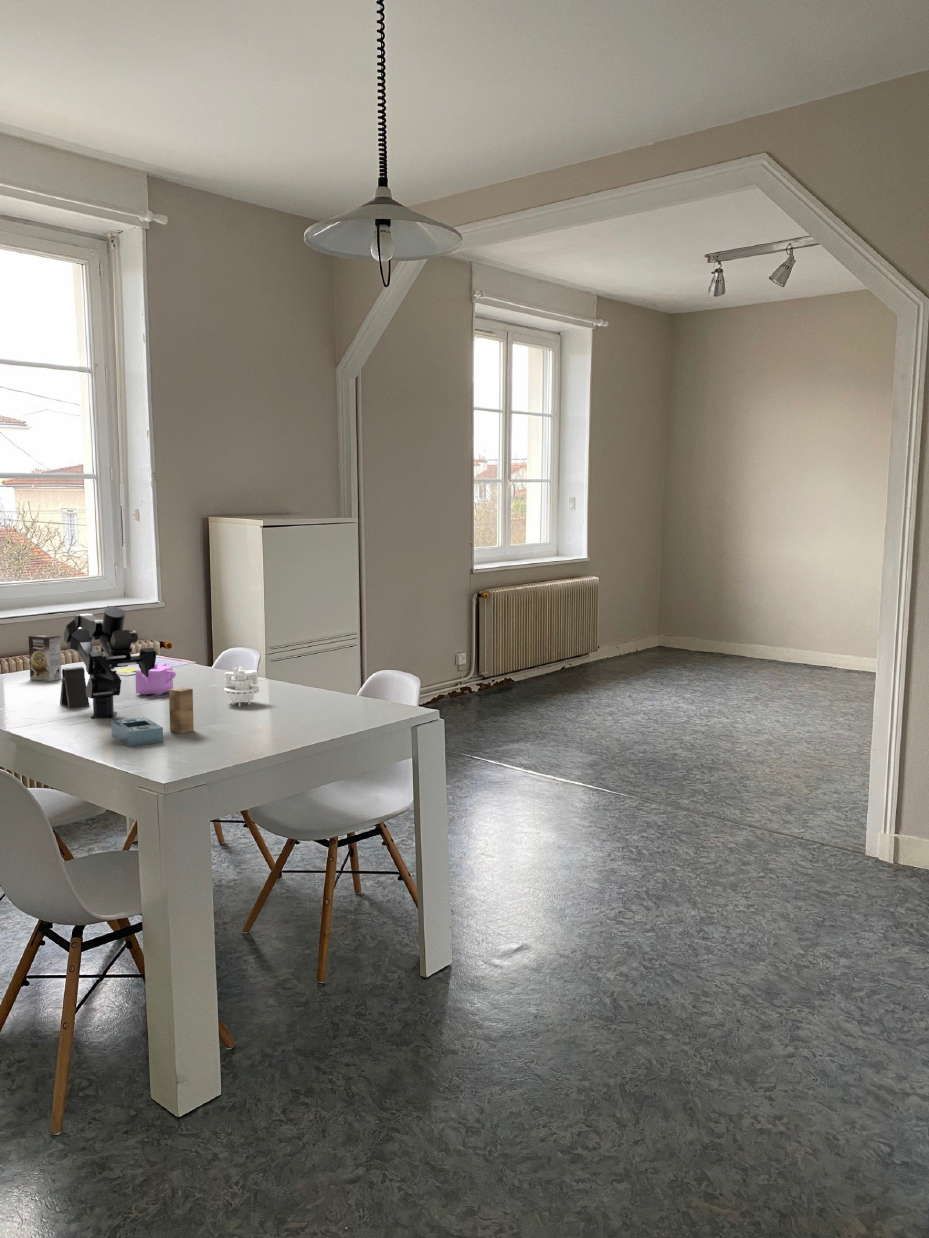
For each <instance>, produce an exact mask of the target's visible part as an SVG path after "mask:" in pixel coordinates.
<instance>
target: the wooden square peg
mask: <svg viewBox="0 0 929 1238" xmlns="http://www.w3.org/2000/svg"><path fill="white" fill-rule="evenodd" d="M193 691H194V690H193V688H192V687H191V688H189V687H184V686H181V687H175V688H174V687H173V689H169V691H168V700H169V701H168V704H169V731H170V733H175V734H181V735H182V734H185V733H190V732H194V693H193Z"/></svg>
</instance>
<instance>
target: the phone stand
mask: <svg viewBox="0 0 929 1238" xmlns="http://www.w3.org/2000/svg"><path fill="white" fill-rule="evenodd" d="M85 675H86V674H85V668H84V666H76V667H75V666H74V667H66V668H61V677H62V679H61V686H60V687H61V688H60V698H59V699H60V700H59V704H60V705H61V706H63V707H65V708H68V709H70V710H72V709H76V708H77V709H78V708H85V707H90V700H89V697H87V696H86V687H87V683H86V676H85Z"/></svg>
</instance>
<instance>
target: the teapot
mask: <svg viewBox="0 0 929 1238" xmlns="http://www.w3.org/2000/svg"><path fill="white" fill-rule="evenodd" d="M167 664H168V663H167V662H164V663H162V665H159V664H158V663H155V667H154V668H153V669H151V670H149V675H148V677H146V676H145V675H144V674H143V673H142V672H141V671H140V670H141V669H140V668H138V669H137V670H135V672H134V673H135V674H134V675H135V694H141V695H142V696H148V695H155V696H162V694H165V693H168V692H169V689H174V679H175V677H176V676H177V673H176V671H173V665H171V666H169V665H167Z"/></svg>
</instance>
